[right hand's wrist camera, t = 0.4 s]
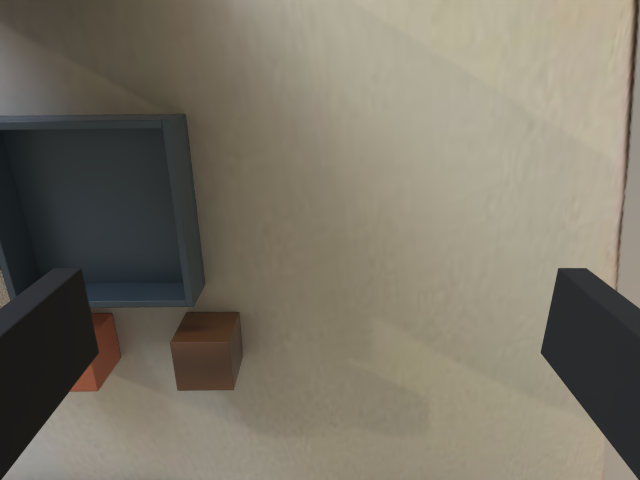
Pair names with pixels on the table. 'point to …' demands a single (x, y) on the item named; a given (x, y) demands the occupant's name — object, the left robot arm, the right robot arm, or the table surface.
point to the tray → (101, 206)
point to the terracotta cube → (100, 354)
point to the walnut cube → (207, 351)
